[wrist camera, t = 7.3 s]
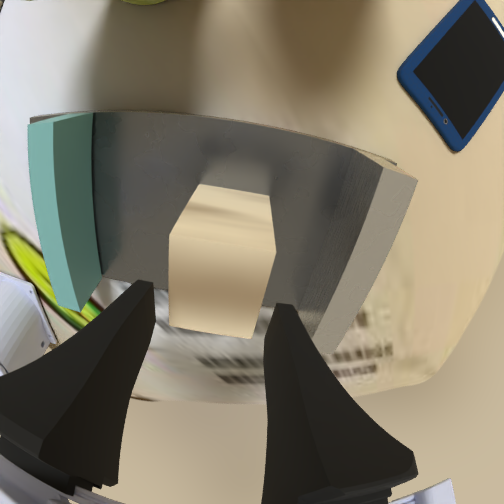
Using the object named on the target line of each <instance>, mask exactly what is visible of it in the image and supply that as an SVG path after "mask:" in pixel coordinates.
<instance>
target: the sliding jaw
mask: <svg viewBox="0 0 504 504" xmlns="http://www.w3.org/2000/svg"><path fill="white" fill-rule="evenodd" d="M92 121H93V113H75V114H66V115H62V116H57V117H53V118H50V119H46V120H42V121H39V122H35V123H32V124H28V160H29V174H30V184H31V192H32V200H33V207H34V213H35V219H36V224H37V230H38V234H39V239H40V244H41V248H42V252H43V256H44V260H45V264H46V268H47V271H48V275H49V278H50V281H51V285H52V288H53V291H54V294H55V297H56V300H57V303H58V305H59V306H62V307H65V308H69V309H72V310H75V311H78V312H81V310H82V309H83V307H84V306H85V304H86V302H87V301H88V299H89V298H90V296H91V294H92V293H93V291H94V290H95V288H96V287H97V285H98V284H99V282H100V281H101V279H102V275H101V269H100V263H99V256H98V249H97V241H96V233H95V223H94V212H93V197H92V172H91V146H92Z"/></svg>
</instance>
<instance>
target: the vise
mask: <svg viewBox="0 0 504 504" xmlns="http://www.w3.org/2000/svg"><path fill="white" fill-rule="evenodd" d="M75 113H93V121H92V146H91V172H92V197H93V212H94V223H95V233H96V241H97V249H98V256H99V263H100V269H101V275H102V276H103V277H107V278H111V279H116V280H121V281H125V282H130V283H134V282H135V281H137V280H138V279H139V280H144V281H149V282H153V285H154V288H160V289H165V290H169V234H170V233H171V231H172V229H173V227H174V226H175V224H176V222H177V220H178V219H179V217H180V215H181V213H182V212H183V210H184V208H185V207H186V205H187V203H188V202H189V200H190V198H191V197H192V195H193V193H194V192H195V190H196V188H197V187H198V185H199V184H202V185H209V186H215V187H222V188H228V189H234V190H240V191H246V192H251V193H257V194H262V195H268V196H269V198H270V206H271V213H272V221H273V229H274V238H275V246H276V255H275V259H274V262H273V266H272V270H271V273H270V277H269V280H268V284H267V287H266V291H265V294H264V298H263V301H262V306H270V307H275V306H276V303H284V304H292V305H293V306H294V307H295V309H296V310H298V313H299V317H300V319H301V321H302V323H303V325H304V327H305V328H306V330H307V332H308V334H309V336H310V338H311V339H312V341H313V343H314V344H315V346H316V348H317V349H318V351H319V353H320V354H333V353H334V351H335V350H336V348H337V347H338V345H339V343H340V342H341V340H342V339H343V337H344V335H345V334H346V332H347V330H348V329H349V327H350V325H351V324H352V322H353V320H354V318H355V317H356V315H357V313H358V311H359V310H360V308H361V306H362V304H363V302H364V301H365V299H366V297H367V295H368V293H369V291H370V289H371V287H372V286H373V284H374V282H375V280H376V278H377V276H378V274H379V272H380V270H381V268H382V266H383V264H384V261H385V259H386V257H387V255H388V253H389V251H390V249H391V246H392V244H393V242H394V240H395V238H396V235H397V233H398V231H399V228H400V226H401V224H402V221H403V219H404V216H405V214H406V211H407V209H408V206H409V204H410V201H411V198H412V196H413V193H414V190H415V188H416V185H417V182H418V180H417V179H416V178H414V177H413V176H411V175H410V174H408V173H406V172H405V171H403V170H402V169H400V168H398V167H397V166H396V165H397V163H395V162H393V161H392V160H390V159H387V158H384V157H381V156H379V155H376V154H373V153H370V152H367V151H364V150H361V149H358V148H354V147H351V146H348V145H345V144H341V143H338V142H334V141H331V140H327V139H324V138H320V137H316V136H312V135H308V134H304V133H300V132H296V131H291V130H287V129H282V128H278V127H273V126H268V125H263V124H257V123H252V122H246V121H240V120H233V119H227V118H219V117H212V116H203V115H194V114H184V113H171V112H155V111H83V112H67V113H56V114H47V115H38V116H35V117H31V118H30V124H32V123H35V122H39V121H42V120H46V119H50V118H53V117H57V116H62V115H66V114H75Z"/></svg>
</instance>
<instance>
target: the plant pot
mask: <svg viewBox="0 0 504 504" xmlns="http://www.w3.org/2000/svg"><path fill="white" fill-rule="evenodd" d="M28 1H31V0H28ZM121 1H125V2H129V3H132V4H137V5H152V4H157V3H160V2H162V1H165V0H121Z"/></svg>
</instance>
